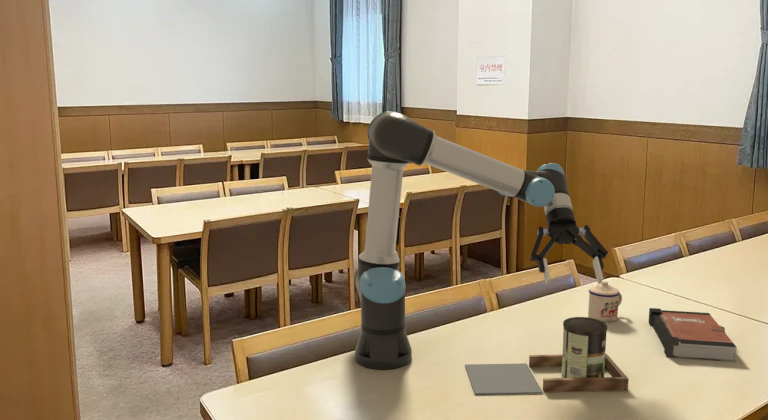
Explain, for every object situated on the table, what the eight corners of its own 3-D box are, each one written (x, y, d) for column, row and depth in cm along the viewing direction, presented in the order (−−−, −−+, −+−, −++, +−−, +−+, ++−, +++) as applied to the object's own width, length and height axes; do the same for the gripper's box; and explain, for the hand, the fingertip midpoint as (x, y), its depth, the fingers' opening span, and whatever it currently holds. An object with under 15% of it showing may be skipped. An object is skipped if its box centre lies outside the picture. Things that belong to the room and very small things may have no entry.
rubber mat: (474, 394, 152) (474, 393, 152) (464, 365, 168) (465, 364, 168) (542, 393, 153) (542, 392, 153) (526, 364, 168) (526, 363, 168)
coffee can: (601, 370, 165) (604, 317, 162) (606, 388, 155) (610, 333, 152) (559, 367, 167) (561, 315, 164) (562, 385, 157) (564, 330, 154)
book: (738, 363, 169) (740, 345, 168) (666, 358, 172) (668, 340, 171) (710, 327, 194) (711, 311, 193) (648, 323, 198) (649, 308, 197)
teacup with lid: (602, 324, 196) (604, 287, 194) (581, 315, 204) (582, 279, 202) (631, 318, 201) (633, 282, 199) (609, 309, 209) (611, 274, 207)
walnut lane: (543, 392, 153) (544, 380, 153) (529, 365, 168) (529, 355, 167) (627, 390, 154) (628, 378, 153) (605, 364, 168) (606, 353, 168)
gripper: (600, 219, 182) (618, 287, 171) (512, 222, 182) (523, 290, 170) (607, 204, 176) (626, 273, 164) (516, 207, 176) (528, 276, 164)
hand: (574, 282), depth 167 cm, fingers open, 13 cm apart
